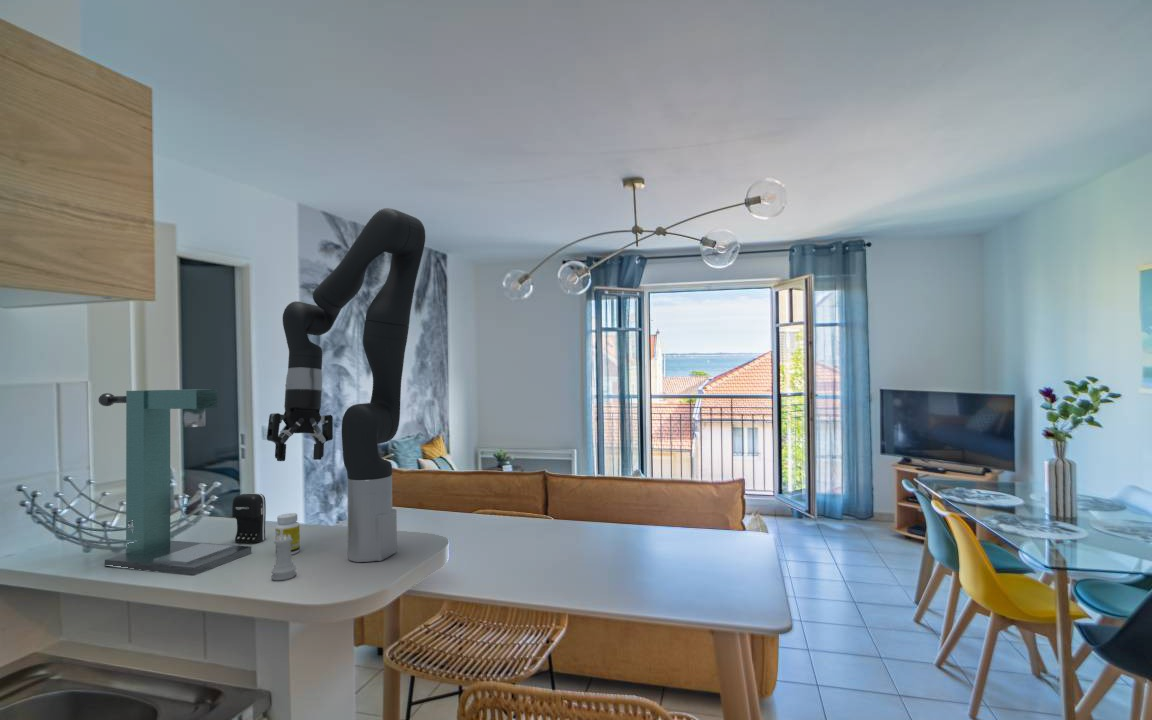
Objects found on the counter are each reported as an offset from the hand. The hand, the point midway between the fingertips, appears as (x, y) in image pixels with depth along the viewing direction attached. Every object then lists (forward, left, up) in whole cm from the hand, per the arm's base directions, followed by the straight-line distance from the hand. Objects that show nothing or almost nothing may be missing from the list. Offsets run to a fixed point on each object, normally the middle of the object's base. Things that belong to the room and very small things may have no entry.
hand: (299, 460), depth 126 cm
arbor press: (+28, +10, -21) cm, 36 cm away
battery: (+18, -4, -21) cm, 28 cm away
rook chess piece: (-9, +14, -21) cm, 27 cm away
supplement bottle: (+2, +1, -21) cm, 21 cm away
